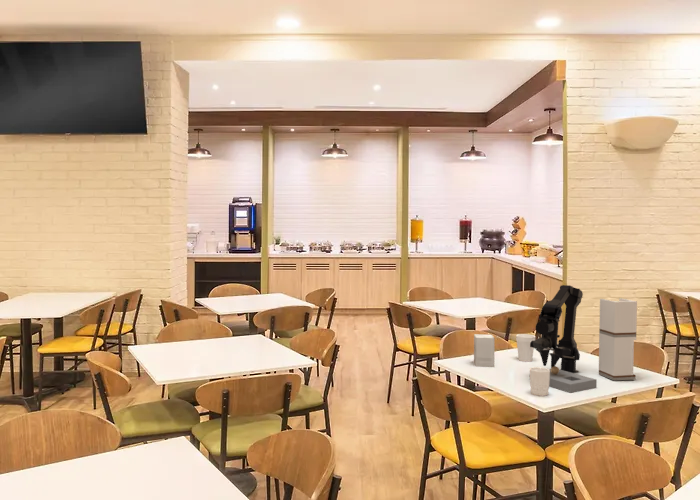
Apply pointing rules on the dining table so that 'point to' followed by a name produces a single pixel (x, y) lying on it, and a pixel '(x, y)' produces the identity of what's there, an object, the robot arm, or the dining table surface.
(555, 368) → the ball
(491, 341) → the supplement box
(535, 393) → the white cup
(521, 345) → the foam cup
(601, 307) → the grey striped pillar
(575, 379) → the grey flat block
